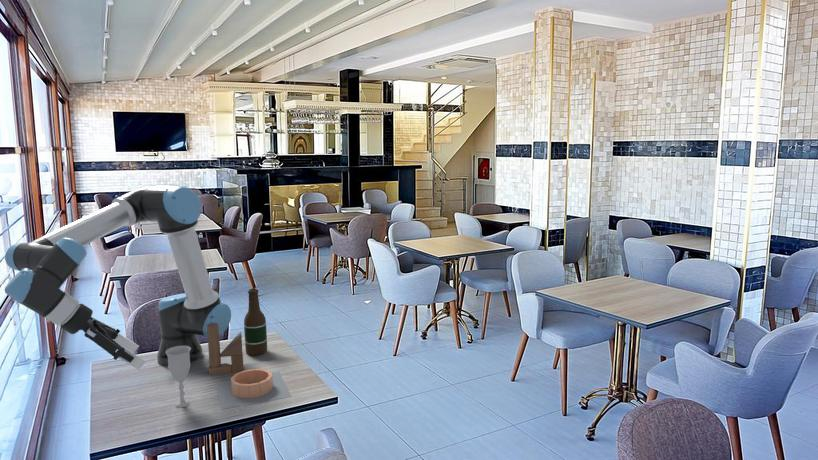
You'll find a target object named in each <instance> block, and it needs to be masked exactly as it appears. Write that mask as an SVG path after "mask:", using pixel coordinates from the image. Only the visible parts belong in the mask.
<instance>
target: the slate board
mask: <svg viewBox="0 0 818 460" xmlns="http://www.w3.org/2000/svg"><path fill="white" fill-rule="evenodd" d="M271 373H272V378H273V388H272V390H271V391H270V392H269V393H267V394H265V395H262V396H259V397H254V398H239V397H236V396H234V395H232V390H231V379H228V380H223V381H222V380H221V381H216V382H215V385H216V392H217V397H218V399H219V400H218V401H219V406H220V410H227V409H231V408H237V407H242V406H248V405H254V404H258V403H259V404H260V403H264V402H270V401H275V400H281V399H282V400H283V399H286V398H292V395H291V392H290V391H289V388H288V387H287V385H286V382H285V380H284V378H283V376H282V374H281V372H280V371H276V372H271ZM253 383H258V382H253ZM247 384H252V383H247Z"/></svg>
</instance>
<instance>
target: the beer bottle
mask: <svg viewBox="0 0 818 460" xmlns="http://www.w3.org/2000/svg"><path fill="white" fill-rule="evenodd" d="M247 294H248V308H247V309H248V310H247V312H246V314H245V316H244V319H243V329H244V344H245V345H244V347H245V354H247V356H249V357H259V356H263V355H265V354H266V353H267V352H268V336H267V335H268V334H267V320H266V316H265V314H264V313H263V312H262V310H261V308H260V300H259V290H258V288H250V289H248V290H247Z"/></svg>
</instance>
